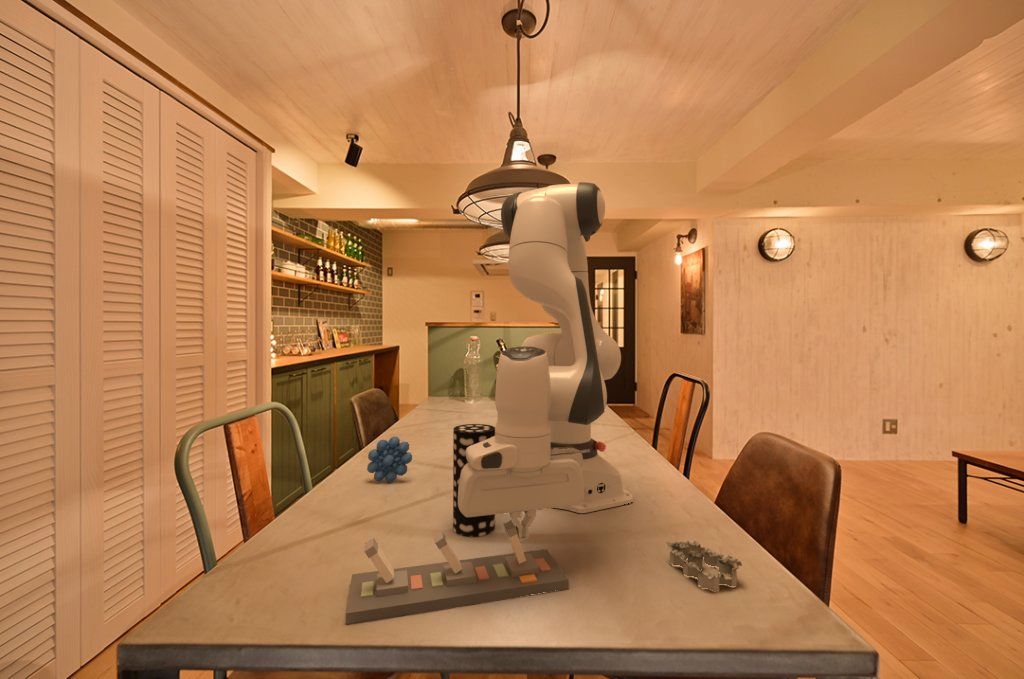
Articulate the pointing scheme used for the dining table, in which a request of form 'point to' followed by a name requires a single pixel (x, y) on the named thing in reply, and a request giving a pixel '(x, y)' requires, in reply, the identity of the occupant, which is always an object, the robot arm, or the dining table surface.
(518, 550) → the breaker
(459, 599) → the breaker panel
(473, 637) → the dining table surface
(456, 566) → the breaker mid
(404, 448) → the blue lobed flower shape
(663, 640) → the dining table surface
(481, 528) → the white-spotted black cylinder
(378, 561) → the breaker far
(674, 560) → the egg carton
